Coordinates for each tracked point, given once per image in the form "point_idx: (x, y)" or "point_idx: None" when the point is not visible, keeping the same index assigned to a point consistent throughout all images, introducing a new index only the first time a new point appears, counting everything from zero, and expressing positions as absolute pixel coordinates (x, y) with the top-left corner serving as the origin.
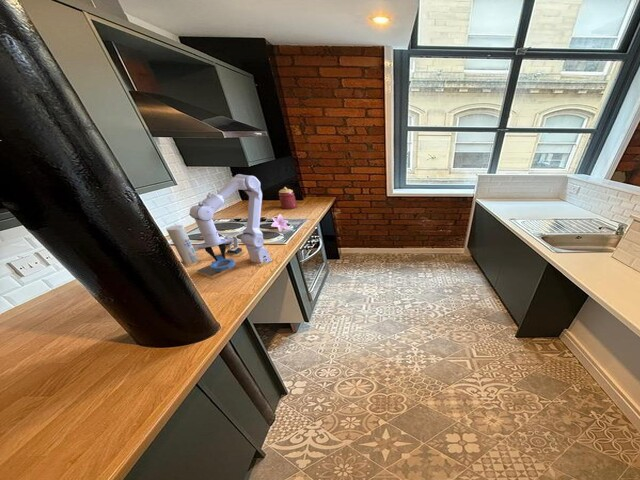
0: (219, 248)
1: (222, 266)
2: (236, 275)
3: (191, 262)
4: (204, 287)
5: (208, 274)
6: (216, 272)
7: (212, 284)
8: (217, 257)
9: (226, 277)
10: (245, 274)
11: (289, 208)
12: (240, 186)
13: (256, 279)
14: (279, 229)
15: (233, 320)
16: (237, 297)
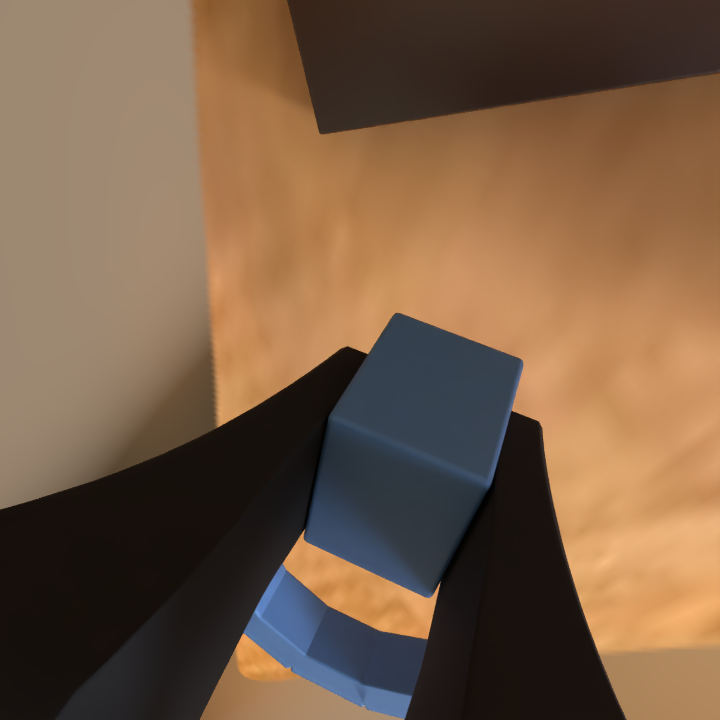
0: (455, 700)
1: (314, 665)
2: (595, 324)
3: None
4: (218, 259)
5: (301, 15)
6: (421, 55)
7: (294, 272)
8: (327, 542)
9: (479, 254)
10: (683, 406)
11: None
12: None
13: (642, 581)
14: None
15: (270, 678)
16: (363, 601)
